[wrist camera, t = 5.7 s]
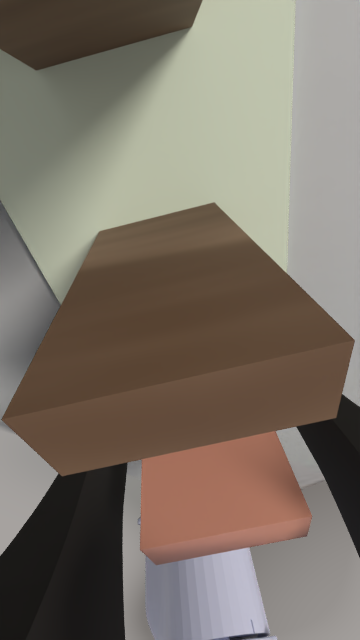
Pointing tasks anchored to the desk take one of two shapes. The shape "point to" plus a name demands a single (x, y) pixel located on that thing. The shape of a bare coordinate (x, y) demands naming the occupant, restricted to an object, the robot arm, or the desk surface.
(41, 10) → the domino
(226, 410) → the domino
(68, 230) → the runner mat
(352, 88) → the desk surface
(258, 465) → the domino
